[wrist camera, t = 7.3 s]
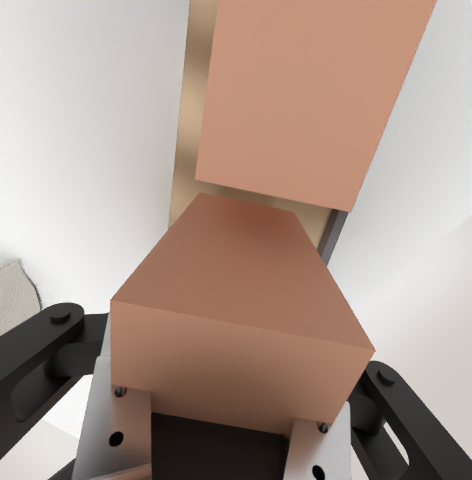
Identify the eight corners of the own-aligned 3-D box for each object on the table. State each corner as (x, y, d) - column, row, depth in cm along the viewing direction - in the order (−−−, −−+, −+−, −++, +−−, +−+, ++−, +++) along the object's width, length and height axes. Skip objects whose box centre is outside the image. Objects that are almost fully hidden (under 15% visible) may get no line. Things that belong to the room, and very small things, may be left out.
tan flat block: (199, -1, 14) (186, -35, 11) (391, 44, 15) (426, 23, 12) (171, 264, 22) (158, 284, 19) (300, 289, 22) (309, 313, 19)
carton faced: (249, -7, 13) (252, -264, 4) (344, 16, 13) (516, -190, 5) (222, 154, 16) (194, 179, 8) (299, 171, 16) (352, 212, 8)
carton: (199, 192, 13) (110, 299, 4) (294, 212, 13) (378, 350, 5) (182, 313, 16) (111, 508, 8) (259, 328, 16) (270, 533, 8)
